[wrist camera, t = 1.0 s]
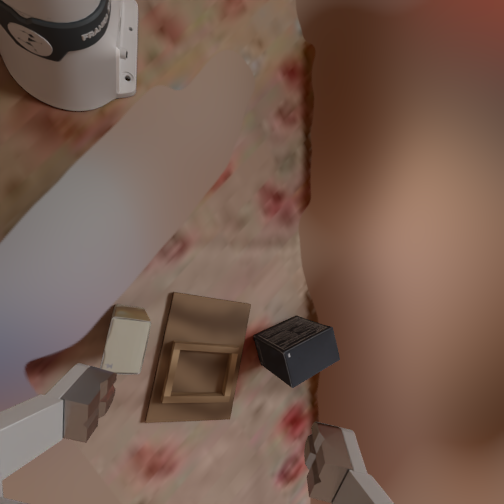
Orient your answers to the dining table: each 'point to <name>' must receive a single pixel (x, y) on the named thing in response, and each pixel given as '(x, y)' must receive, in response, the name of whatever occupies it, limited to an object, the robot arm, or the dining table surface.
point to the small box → (296, 349)
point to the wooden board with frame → (198, 360)
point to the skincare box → (126, 340)
